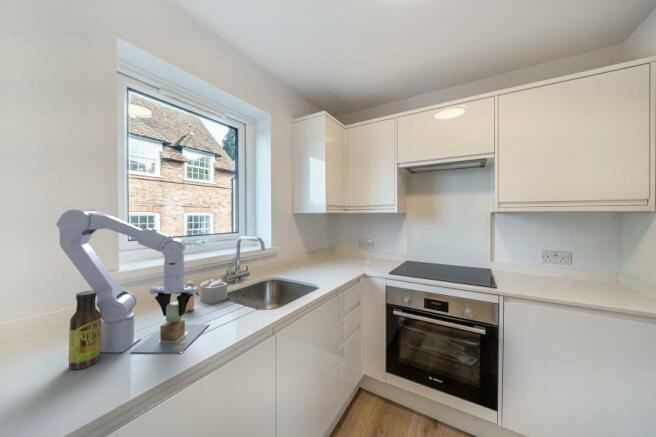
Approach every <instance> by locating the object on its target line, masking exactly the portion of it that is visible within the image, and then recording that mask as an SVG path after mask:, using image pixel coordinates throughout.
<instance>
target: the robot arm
mask: <svg viewBox="0 0 656 437" xmlns="http://www.w3.org/2000/svg"><path fill="white" fill-rule="evenodd" d="M55 225H56V226H57V227H58V229H59V245H60V246H59V247H60V248H61V249H62V251H63V252H64V253H65V255H66V256H67V257H68V259H69V260H70V261H71V263H72V264H73V265H74V267H75V268H76V269H77V271H78V272H79V273H80V275H81V276H82V278H83V279H84V280H85V281H86V283H87V284H88V285H89V287H90V288H91V289H92V291H96V292H97V295H96V306H97V308H98V311H99V313H100V316H101V317H100V318H101V339H100V353H123V352H125V351H126V350H128V349H129V348H130V347H132V346H134V345H135V344H136V343H138V342H139V341H141V340H142V337H135V312H134V311H133V308H134V307H136V304H137V297H136V296H135V294H133V293H131V292H129V291H128V290H127V289H126V288H125V287H124V286H121V285H119V284H118V282H116V280H115V278H114V277H113V276H112V274H111V273H110V271H108V269H107V267H106V266H105V265H104V263H103V262H102V260H101V259H100V257H99V256H98V255H97V253H96V252H95V250H94V249H93V247H92V246H91V245H90V244H89V241H90V239H91V237H92V235H93V234H94V233H96V231H98V230H103V229H106V230H107V229H108V230H110V231H113V232H116V233H119V234H122V235H125V236H126V237H127V236H128V237H131V238H133V239H136V241H137V244H138V245H140V246H143V247H146V248H148V249H151V250H154V251H156V252H159V253H160V252H161V253H162V255H163V256H164V261H163V286H161V285H160V286H152V287H150V288H149V294H150V295H155V294H157V295H155V297H154V299H155V301H156V302H157V303H158V305H159V307H160V309H161V311H162V316H163V317H166V305H167V304H169V303H171V298H172V295H173V294H177V296H176V300H177V302H178V305H179V316H182V317H183V316H184V315H185V313H186V312H185V309H186V306H187V303H188V301H189V299H190V297H191V295H194V296H195V295H196V293H197V291H198V286H193V287H190V286H186V285H185V256H184V255H185V254H184V251H185V250H186V243H185V241H184V240H182V239H181V238H180V237H173V235H171V234H169V235H168V234H165V233H162V232H160V231H159V229H158V228H156V227H153V228H150V227H148V228H144V229H142V228H140V227H137V226H135V225H134V224H131V223H128V222H126V221H124V220H122V219H119V218H117V217H115V216H112V215H110V214H108V213H105V212H100V211H98V210H96V209H68V210H66V211H65V212H63V213H62V214H61V215H60V217H59V219H58V220H57V222H56V224H55Z"/></svg>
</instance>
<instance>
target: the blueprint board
mask: <svg viewBox="0 0 656 437" xmlns="http://www.w3.org/2000/svg"><path fill="white" fill-rule="evenodd" d="M209 326H210V325H209V324H201V323H200V324H194V323H193V324H188V323H187V324H186V323H185V334H184V335H183V336H181V337H180V338H179V339H178V340H177V341H160V330H158V331H157V332H156V333H154V334H153V335H151V336H150V337H149V338H148V339H146V340H145V341H143V342H142V343H141V344H139V345H138V346H137V347H136V348H134V349H133V350H132V351H130V354H181V353H180V352H182V351H183V352H185V351H186V349H188V347H189V346H190V345H191V344H192V343H193V342H195V340H196V339H198V337H199V336H200V335H202V333H203V332H204V331H205V330H206V329H207V328H208V327H209ZM183 352H182V353H183Z"/></svg>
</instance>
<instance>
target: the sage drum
mask: <svg viewBox="0 0 656 437" xmlns="http://www.w3.org/2000/svg"><path fill="white" fill-rule="evenodd" d="M180 319H183V315H182V316H179V305H178V301H174V302H173V301H172V302H170V303H169V304H167V305H166V316H165V321H166V322H175V321H178V320H180Z"/></svg>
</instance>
